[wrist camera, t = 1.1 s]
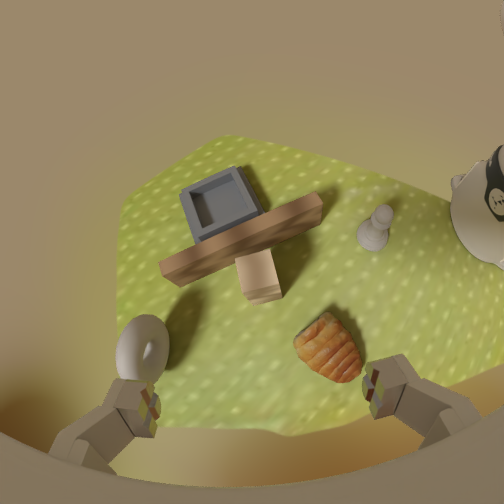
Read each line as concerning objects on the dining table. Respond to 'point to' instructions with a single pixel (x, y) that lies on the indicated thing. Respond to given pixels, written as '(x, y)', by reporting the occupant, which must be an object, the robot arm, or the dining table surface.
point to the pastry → (329, 349)
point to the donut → (143, 349)
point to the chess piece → (376, 229)
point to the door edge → (243, 240)
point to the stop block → (258, 277)
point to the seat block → (219, 203)
